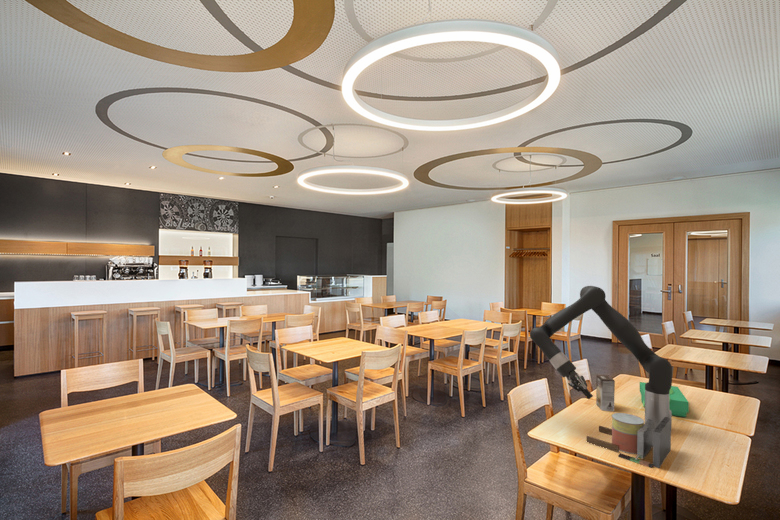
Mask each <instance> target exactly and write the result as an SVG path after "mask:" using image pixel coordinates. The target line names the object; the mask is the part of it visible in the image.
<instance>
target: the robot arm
mask: <svg viewBox="0 0 780 520" xmlns="http://www.w3.org/2000/svg"><path fill="white" fill-rule="evenodd" d="M590 310H592V311H593V313H595V314H596V315H597V316H598V317H599V319H600V320H601V321H602V322H603V324H604V325H605V327H606V328H608V329H609V330H608V331H610V332H611V333H612V335H613V336H614V337H615V338H616V339H617V340H618V341H619V342H620V343H621V344H622V346H624V347H625V348H626V349H627V350H628V351H630V353H631V354H632V355H633V356H634V357H635V359H636V360H637V361H638V362H639V364H640V365H641V367H642V368H643V370H644V371H645V372H647V373H648V374H649V375H648V382H645V383H646V384H645V407H644V424H645V423H646V421H647V420H648V419H653V420H655V429H656V427H657V426H658V425H659V424H660V422H661V421H662V420H663V419H664V418H665V417H667V418H671V422H672V420H673V419H672V416H673V415H672V411H671V410H669V391H670V389H671V386H673V366H672V364H671V362H670V361H669V360H668V359H666V358H664V357H662V356H659V355H658V354H657V353H655V352H654V350H652V349H651V348H650V347H649V346H648V345H647V344H646V343H645V341H644V339H643V337H642V335H641V334H640V332H639V330H638V329H637V328H636V326H635V325H634V324H632V323H631V321H630V320H629V319H628V318H626V317H625V316H624V315H623V314H622V313H620V312H619V311H618V310H616V309H615V308H614V307H613V306H612V305H610V304H609V302H608V301H607V300H606V292H605V290H604V289H602V288H601V287H598V286H594V285H586V286H584V287H582V288H581V289H580V292H579V298H578V299H577V300H576V301H575V302H573V303H572V304H570V305H569V306H566V307H564V308H562V309H560V310H559V311H557V312H556V313H554V314H553V315H551V316H549V317H548V319H546V320H545V322H544V323H543V324H541V325H540V326H539V327H533V328H531V330H530V332H529V337H530V339H531V340H532V342H533V343H534V344H535V345H536V346H537V347H538V348H539V349H540V350H541V351H542V353H543V354H544V356H545V358H547V360H548V361H549V362H550V364H551V365H552V367H553V369H555V370H556V371H557V373H558V374H559V375H560V376H561V377H562V378H566V379H567V381H568V386H570V387H571V388H573V389H574V390H575V391H577V392H581V393H582V394H583V395H584V396H585V397H586V399H588V400H589V399H591V398H593V397H594V395H593V394H592V393H591V392H590V390H589V389H588V383H587V382H586V379H585V377H584V376H583V375H580V374H579V373H578V372H577V371H576V370H577V367H576V365H574V363H573V362H572V361H571V360H570V359H569V358H568V357H567V355H566V354H565V353H563V352H562V350H561V349H560V348H559V346H557V344H555V343H554V342H553V341H552V339H551V337H552V336H554V334H555V333H557V332H559V331H560V330H562V329H563V328H564V327H566V325H568V324H570V323H571V322H572V321H573V320H575V319H577V318H579V317H580V316H582V315H583V314H585V313H586V312H588V311H590Z"/></svg>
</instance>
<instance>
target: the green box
mask: <svg viewBox="0 0 780 520" xmlns="http://www.w3.org/2000/svg"><path fill="white" fill-rule="evenodd" d="M646 383H647V382H643V381H639V393H640V397H641V399H640V401H641V403H642V406H643V408H645V384H646ZM689 405H690V402H689V401H688V398H686V396H685V395H684V394H683V392H682V391H681V389H680V388H679V387H678V386H675V385H672V386H671V389H670V391H669V410H671V411H672V416H674V417H680V418H681V417H682V418H686V417H687V414H688V413H689V412H690V409H689V407H690V406H689Z"/></svg>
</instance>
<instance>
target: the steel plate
mask: <svg viewBox="0 0 780 520" xmlns="http://www.w3.org/2000/svg"><path fill="white" fill-rule="evenodd" d="M654 430H655V420H653V419H648V420H647V421H646V423H645V422H644V425H643V426H642V427H641V428H640V429H639V430H638V431H637V454H636V456H634V457H635V459H636V460H637V459H641V460H644V459H645V458H646V457H647V456H648V454H649V453H650V451H651V449H653V431H654Z"/></svg>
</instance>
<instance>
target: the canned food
mask: <svg viewBox="0 0 780 520" xmlns="http://www.w3.org/2000/svg"><path fill="white" fill-rule="evenodd" d="M644 424H645V419H643V418H642V417H639V416H638V415H633V414H631V413H625V412H614V413H612V414H611V429H612V436H611V443H613V444H616V445H619V452H622V453H626V454H629V455H630V454H631V455H637V431H638V430H639V429H640V428H641V427H642V426H643V425H644Z"/></svg>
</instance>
